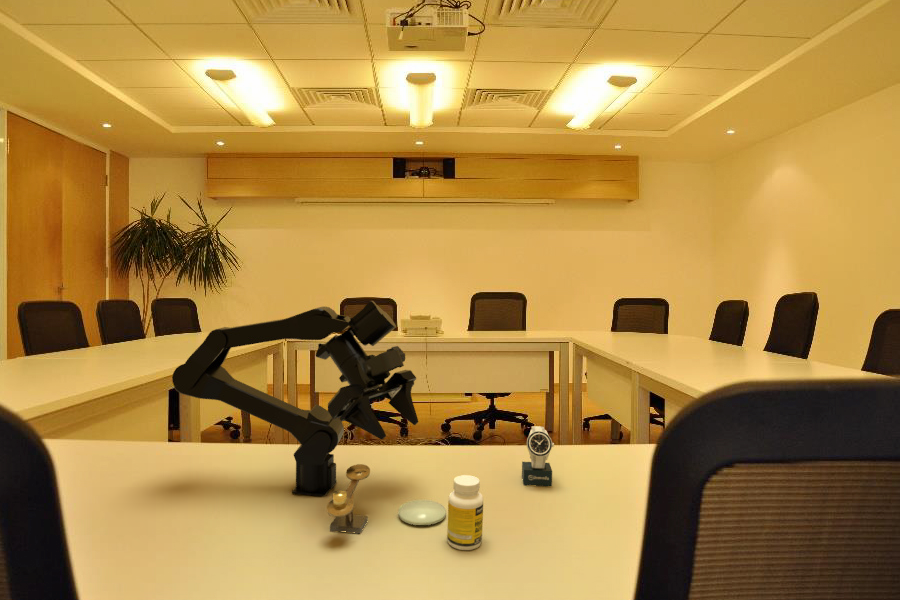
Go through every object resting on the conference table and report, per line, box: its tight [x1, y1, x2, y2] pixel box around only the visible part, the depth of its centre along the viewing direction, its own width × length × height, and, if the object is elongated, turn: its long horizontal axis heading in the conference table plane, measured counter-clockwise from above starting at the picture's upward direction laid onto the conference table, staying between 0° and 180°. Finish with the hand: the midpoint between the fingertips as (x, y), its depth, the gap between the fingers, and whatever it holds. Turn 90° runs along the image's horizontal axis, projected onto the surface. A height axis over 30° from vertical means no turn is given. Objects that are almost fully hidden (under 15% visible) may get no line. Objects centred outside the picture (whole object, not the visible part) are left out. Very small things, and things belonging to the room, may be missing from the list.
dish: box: [398, 499, 447, 526], centre depth 86 cm, size 8×8×1 cm
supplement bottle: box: [446, 474, 484, 551], centre depth 78 cm, size 5×5×10 cm
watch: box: [521, 425, 555, 487], centre depth 101 cm, size 6×8×11 cm
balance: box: [326, 463, 371, 534], centre depth 82 cm, size 5×13×8 cm, turn 173°
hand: (401, 430), depth 88 cm, fingers open, 9 cm apart
